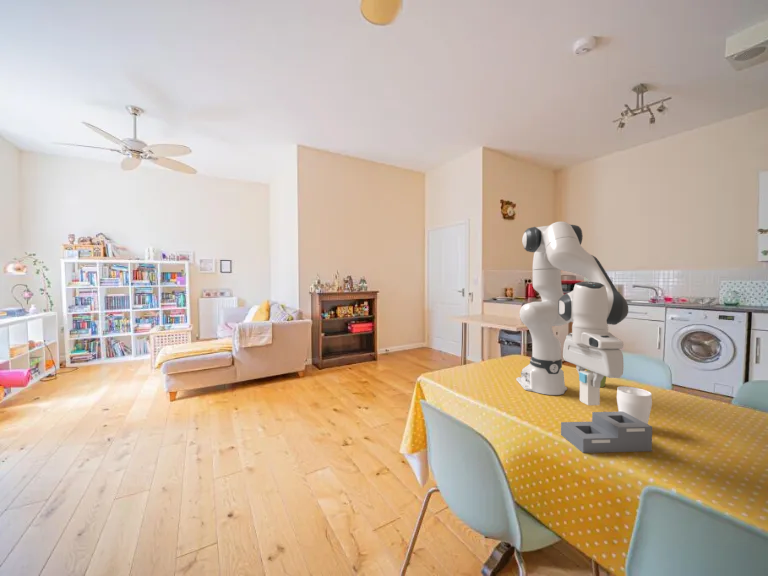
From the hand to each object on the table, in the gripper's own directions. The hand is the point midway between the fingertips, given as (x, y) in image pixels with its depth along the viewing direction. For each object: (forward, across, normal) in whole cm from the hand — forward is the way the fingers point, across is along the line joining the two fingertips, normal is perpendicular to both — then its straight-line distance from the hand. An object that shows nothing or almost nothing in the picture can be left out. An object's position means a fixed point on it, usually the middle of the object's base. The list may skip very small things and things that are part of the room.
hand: (589, 384), depth 91 cm
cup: (+18, -9, +22) cm, 30 cm away
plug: (+6, 0, 0) cm, 6 cm away
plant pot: (+17, -49, +40) cm, 66 cm away
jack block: (+18, 0, +5) cm, 18 cm away
